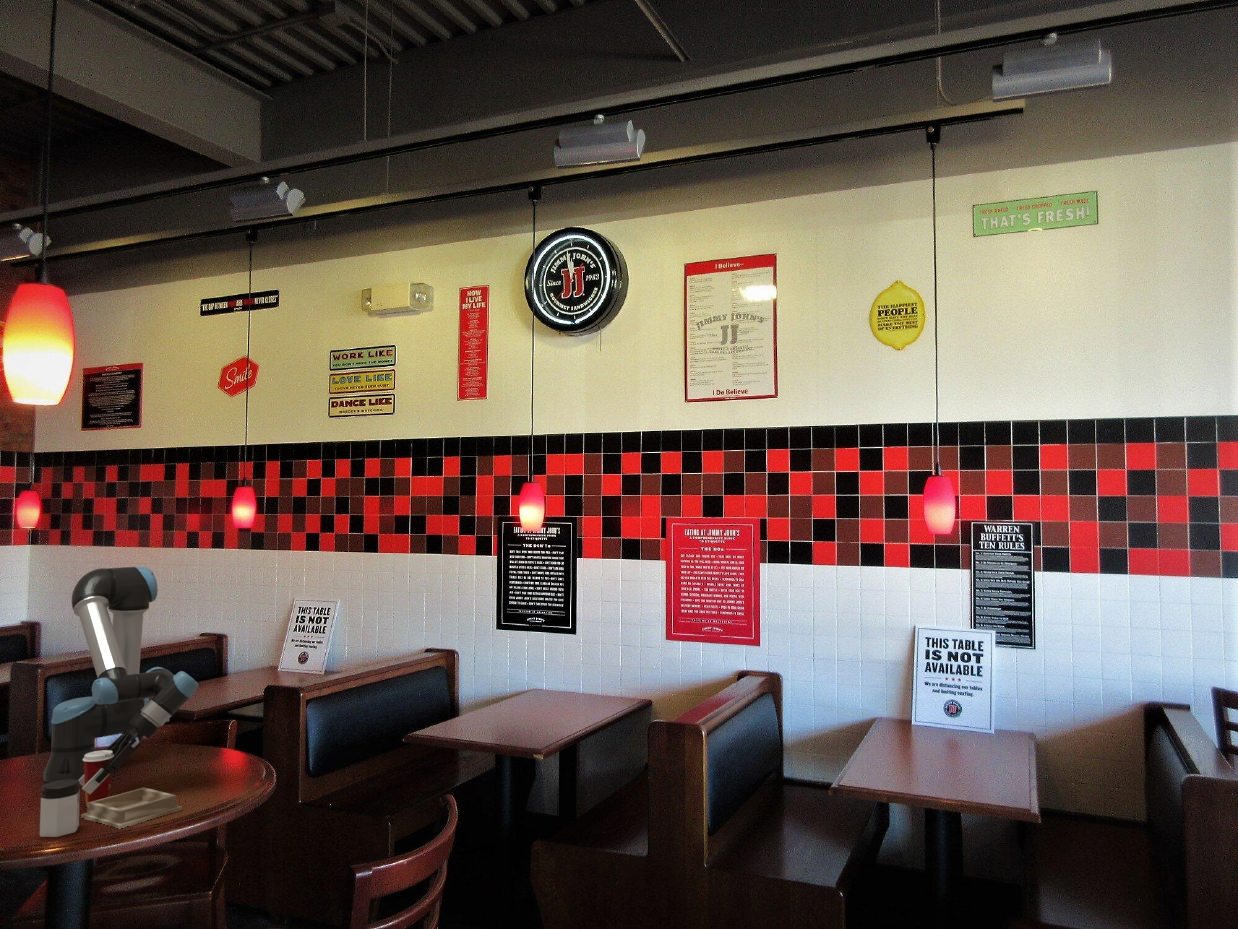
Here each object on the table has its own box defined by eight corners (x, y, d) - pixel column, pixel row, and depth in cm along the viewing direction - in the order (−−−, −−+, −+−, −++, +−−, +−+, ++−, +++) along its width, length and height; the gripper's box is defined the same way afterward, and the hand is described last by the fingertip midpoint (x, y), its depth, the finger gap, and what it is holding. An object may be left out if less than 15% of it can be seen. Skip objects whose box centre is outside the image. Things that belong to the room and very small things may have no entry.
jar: (43, 829, 224) (45, 781, 225) (80, 824, 227) (82, 777, 228) (36, 840, 216) (38, 790, 217) (75, 835, 219) (76, 786, 220)
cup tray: (81, 818, 232) (81, 802, 232) (143, 800, 247) (143, 786, 247) (119, 829, 223) (120, 813, 223) (181, 810, 238) (182, 795, 238)
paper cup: (119, 801, 246) (120, 750, 247) (95, 809, 239) (96, 757, 240) (99, 798, 248) (100, 748, 249) (74, 807, 241) (75, 755, 242)
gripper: (167, 734, 247) (100, 804, 235) (151, 721, 262) (88, 787, 251) (147, 718, 244) (78, 788, 232) (132, 706, 259) (67, 772, 248)
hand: (83, 787), depth 242 cm, fingers closed on paper cup, 8 cm apart
